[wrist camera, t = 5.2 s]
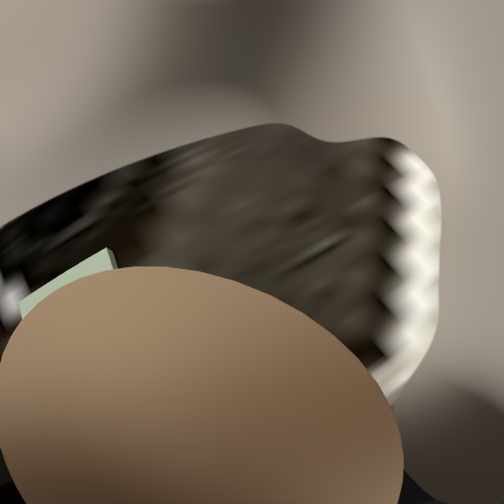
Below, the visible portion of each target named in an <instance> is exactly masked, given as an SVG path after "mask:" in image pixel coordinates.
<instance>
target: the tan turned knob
mask: <svg viewBox="0 0 504 504" xmlns="http://www.w3.org/2000/svg"><path fill="white" fill-rule="evenodd" d="M0 447H1V451H2V454H3V457H4V459H5V462H6V465H7V468H8V470H9V472H10V475H11V477H12V479H13V481H14V483H15V485H16V487H17V489H18V491H19V492H20V494H21V496H22V497H23V499H24V501H25V502H26V504H397V503H398V499H399V495H400V491H401V487H402V482H403V462H404V458H403V450H402V443H401V437H400V432H399V429H398V426H397V424H396V421H395V418H394V415H393V412H392V409H391V407H390V405H389V403H388V401H387V400H386V398H385V396H384V394H383V392H382V391H381V389H380V387H379V385H378V383H377V382H376V381H375V380H374V378H373V377H372V376H371V374H370V373H369V372H368V371H367V369H366V368H365V367H364V366H363V364H362V363H361V362H360V360H359V359H358V358H357V357H356V356H355V355H354V354H353V353H352V352H351V351H350V350H348V349H347V348H346V347H345V346H344V345H343V344H342V343H341V342H340V341H339V340H338V339H337V338H336V337H335V336H334V335H333V334H331V333H330V332H328V331H327V330H326V329H324V328H323V327H321V326H320V325H319V324H317V323H316V322H315V321H313V320H312V319H310V318H309V317H308V316H306V315H305V314H304V313H302V312H300V311H298V310H296V309H294V308H293V307H291V306H289V305H287V304H285V303H283V302H282V301H280V300H278V299H276V298H274V297H273V296H271V295H268V294H266V293H263V292H261V291H258V290H256V289H253V288H251V287H248V286H246V285H244V284H241V283H239V282H236V281H233V280H229V279H225V278H222V277H218V276H214V275H210V274H207V273H203V272H199V271H192V270H184V269H177V268H170V267H128V268H120V269H113V270H106V271H102V272H99V273H95V274H92V275H89V276H85V277H82V278H79V279H77V280H75V281H73V282H71V283H69V284H66V285H64V286H62V287H60V288H58V289H57V290H55V291H54V292H52V293H51V294H50V295H48V296H47V297H45V298H44V299H43V300H41V301H40V302H39V303H38V304H37V305H36V306H35V307H34V308H33V309H32V310H31V311H30V312H29V313H28V314H27V315H26V316H25V317H24V318H23V320H22V321H21V322H20V324H19V325H18V327H17V328H16V330H15V331H14V333H13V334H12V336H11V338H10V340H9V342H8V344H7V346H6V348H5V351H4V353H3V356H2V359H1V363H0Z"/></svg>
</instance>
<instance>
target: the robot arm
mask: <svg viewBox="0 0 504 504" xmlns="http://www.w3.org/2000/svg"><path fill="white" fill-rule="evenodd" d="M0 504H26V502H25V501H24V499H23V497H22V496H21V494H20V492H19V491H18V489H17V487H16V485H15V483H14V481H13V479H12V477H11V475H10V472H9V470H8V468H7V465H6V462H5V459H4V457H3V454H2V451H1V449H0ZM397 504H447V503H445V502H442V501H440V500H437V499H435V498H433V497H432V496H430V495H429V494H427V493H426V492H425V491H424V490H423V489H422V488H421V487H420V486H419V485H418V484H417V483H416V482H415V481H414V480H413V479H412V478H411V477H410V476H409V475H408V474H407V473H406V472H405V471H404V470H403V482H402V487H401V491H400V495H399V499H398V503H397ZM501 504H504V503H501Z"/></svg>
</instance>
